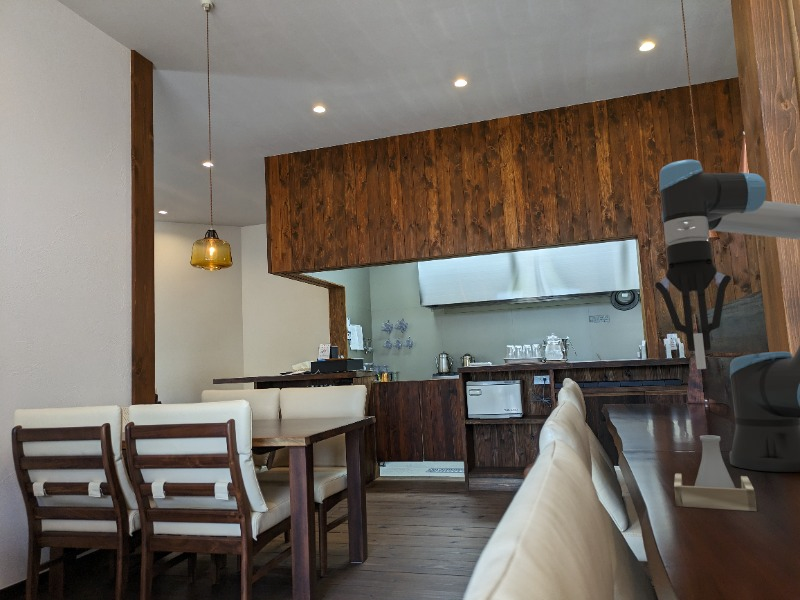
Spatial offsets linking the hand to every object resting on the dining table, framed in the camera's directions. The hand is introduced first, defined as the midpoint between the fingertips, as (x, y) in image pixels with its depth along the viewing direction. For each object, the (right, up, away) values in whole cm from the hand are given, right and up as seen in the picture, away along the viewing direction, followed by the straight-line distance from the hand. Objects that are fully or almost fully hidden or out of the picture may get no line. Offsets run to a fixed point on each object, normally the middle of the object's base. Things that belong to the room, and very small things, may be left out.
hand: (701, 368), depth 106 cm
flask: (-3, -20, -11) cm, 23 cm away
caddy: (-4, -20, -12) cm, 24 cm away
